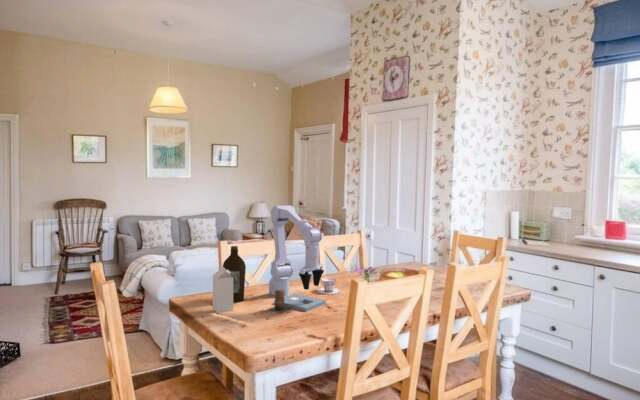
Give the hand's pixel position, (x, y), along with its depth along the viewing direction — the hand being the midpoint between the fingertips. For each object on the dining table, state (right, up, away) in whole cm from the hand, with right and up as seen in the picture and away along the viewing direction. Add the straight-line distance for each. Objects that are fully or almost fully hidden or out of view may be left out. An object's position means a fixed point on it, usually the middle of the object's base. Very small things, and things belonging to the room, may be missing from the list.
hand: (311, 287), depth 193 cm
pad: (-14, -10, -4) cm, 17 cm away
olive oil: (-37, -8, +12) cm, 40 cm away
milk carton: (-38, -9, -5) cm, 39 cm away
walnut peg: (-14, -9, -4) cm, 17 cm away
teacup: (+8, -9, +31) cm, 33 cm away
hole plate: (-5, -9, +5) cm, 12 cm away
